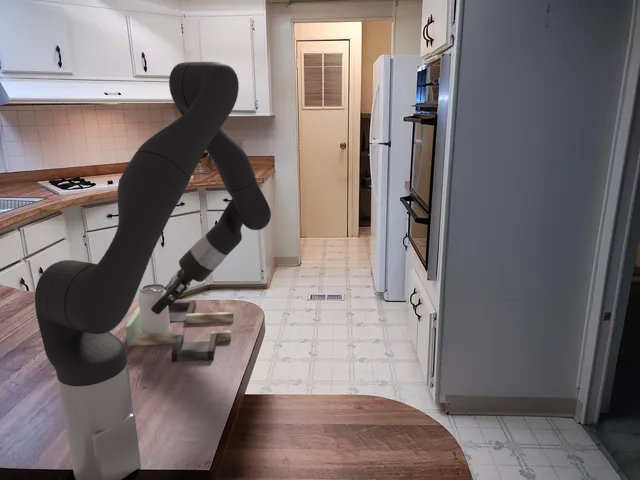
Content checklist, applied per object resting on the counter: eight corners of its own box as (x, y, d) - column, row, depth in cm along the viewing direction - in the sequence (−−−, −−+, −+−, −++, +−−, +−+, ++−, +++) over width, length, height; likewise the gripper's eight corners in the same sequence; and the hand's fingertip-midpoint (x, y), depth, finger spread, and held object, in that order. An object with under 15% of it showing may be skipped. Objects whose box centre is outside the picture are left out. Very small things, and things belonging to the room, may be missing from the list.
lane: (235, 306, 127) (235, 298, 127) (228, 359, 101) (228, 350, 100) (147, 309, 124) (146, 302, 124) (116, 365, 98) (115, 356, 97)
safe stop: (144, 323, 117) (143, 305, 115) (133, 345, 106) (130, 326, 104) (140, 323, 117) (138, 305, 115) (127, 345, 106) (125, 326, 104)
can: (161, 341, 108) (157, 295, 104) (137, 338, 109) (131, 292, 106) (175, 329, 114) (171, 284, 110) (152, 326, 115) (147, 282, 112)
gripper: (195, 238, 114) (152, 283, 115) (187, 257, 100) (138, 307, 102) (218, 258, 116) (175, 301, 118) (212, 278, 102) (164, 327, 104)
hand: (158, 304), depth 110 cm, fingers open, 8 cm apart
